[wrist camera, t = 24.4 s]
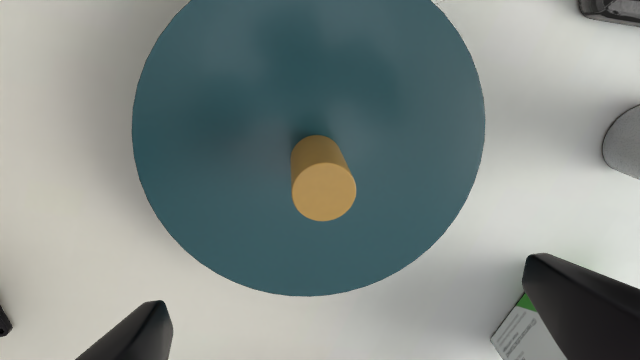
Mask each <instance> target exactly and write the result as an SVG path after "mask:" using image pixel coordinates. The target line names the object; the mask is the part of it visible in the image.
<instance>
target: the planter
mask: <svg viewBox="0 0 640 360" xmlns="http://www.w3.org/2000/svg"><path fill="white" fill-rule="evenodd" d="M603 156H604V159H605V161H606V163H607V164H608V165H609V166H610V167H611V168H613V169H615V170H617V171H620V172H622V173H624V174H627V175H629V176H632V177H634V178H637V179H639V180H640V106H637V107H635V108H633V109H631V110H629V111H627V112H626V113H624V114H623V115H622V116H621V117H619V118H618V119H617V120H616V121H615V123H614V124H613V125H612V126H611V128H610V129H609V131H608V133H607V135H606V137H605V140H604V143H603Z"/></svg>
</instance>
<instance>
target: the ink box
mask: <svg viewBox="0 0 640 360" xmlns="http://www.w3.org/2000/svg"><path fill="white" fill-rule="evenodd" d="M491 342H492V344H493V345H494V347H495V348H496V350H497V351H498V353H499V354H500V356H501V357H502V359H503V360H567V358H566V357H565V356H564V354H563V353H562V351H561V350H560V348H559V347H558V345H557V344H556V342H555V341H554V339H553V338H552V336H551V334H550V333H549V331H548V329H547V328H546V326H545V324H544V323H543V321H542V319H541V318H540V316H539V314H538V313H537V311H536V309H535V308H534V306H533V304H532V303H531V301H530V299H529V298H528V296H527V294H526V293H525V294H524V295H523V297H522V298H521V299H520V301H519V302H518V303H517V305H516V306H515V307H514V308H513V310H512V311H511V313H510V314H509V315H508V317H507V318H506V319H505V321H504V322H503V323H502V325H501V326H500V327H499V329H498V330H497V331H496V333H495V334H494V335H493V337H492V338H491Z"/></svg>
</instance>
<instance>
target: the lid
mask: <svg viewBox="0 0 640 360" xmlns="http://www.w3.org/2000/svg"><path fill="white" fill-rule="evenodd" d="M484 135H485V111H484V99H483V94H482V89H481V85H480V81H479V76H478V73H477V71H476V68H475V65H474V63H473V60H472V57H471V55H470V53H469V51H468V49H467V47H466V45H465V44H464V42H463V40H462V38H461V36H460V35H459V33H458V31H457V30H456V29H455V27H454V26H453V25H452V23H451V22H450V21H449V20H448V18H447V17H446V16H445V14H444V13H443V12H442V11H441V10H440V9H439V8H438V7H437V6H436V5H435V4H434V3H433V2H432V1H431V0H191V1H190V2H189V3H188V4H187V5H186V6H185V7H183V8H182V9H181V10H180V11H179V12H178V13H177V14H176V15H175V16H174V18H173V19H172V20H171V22H170V23H169V24H168V26H167V27H166V28H165V30H164V31H163V32H162V34H161V35H160V36H159V38H158V39H157V41H156V43H155V45H154V47H153V49H152V51H151V52H150V54H149V56H148V58H147V60H146V62H145V65H144V68H143V71H142V73H141V76H140V79H139V82H138V85H137V90H136V95H135V100H134V105H133V115H132V142H133V152H134V159H135V163H136V167H137V171H138V175H139V179H140V182H141V184H142V187H143V189H144V192H145V194H146V197H147V199H148V201H149V203H150V205H151V206H152V208H153V210H154V212H155V214H156V215H157V217H158V219H159V220H160V221H161V223H162V224H163V226H164V227H165V228H166V230H167V231H168V232H169V234H170V235H171V236H172V237H173V238H174V239H175V240H176V241H177V242H178V243H179V244H180V245H181V247H182V248H183V249H184V250H185V251H187V252H188V253H189V254H190V255H192V256H193V257H194V258H195V259H196V260H198V261H199V262H200V263H201V264H203V265H205V266H206V267H208V268H209V269H211V270H212V271H214V272H215V273H217V274H219V275H221V276H223V277H225V278H227V279H229V280H231V281H233V282H235V283H238V284H241V285H244V286H246V287H249V288H252V289H255V290H260V291H264V292H268V293H272V294H280V295H287V296H309V297H310V296H323V295H332V294H337V293H343V292H348V291H351V290H355V289H358V288H362V287H365V286H368V285H370V284H373V283H375V282H378V281H380V280H383V279H384V278H386V277H388V276H390V275H392V274H394V273H396V272H398V271H400V270H401V269H403V268H404V267H406V266H407V265H409V264H410V263H412V262H413V261H414V260H416V259H417V258H418V257H419V256H421V255H422V254H423V253H424V252H425V251H427V250H428V249H429V248H430V247H431V246H432V245H433V244H434V243H435V242H436V241H437V240H438V239H439V238H440V237H441V236H442V235H443V234H444V232H445V231H446V230H447V228H448V227H449V226H450V225H451V223H452V222H453V221H454V219H455V218H456V216H457V215H458V213H459V211H460V210H461V208H462V206H463V205H464V203H465V201H466V199H467V197H468V195H469V193H470V190H471V188H472V186H473V184H474V181H475V178H476V175H477V172H478V169H479V165H480V162H481V156H482V151H483V145H484Z"/></svg>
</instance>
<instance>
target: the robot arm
mask: <svg viewBox="0 0 640 360" xmlns="http://www.w3.org/2000/svg"><path fill="white" fill-rule="evenodd" d="M522 285H523V289H524V291H525V293H526V294H527V296H528V298H529V299H530V301H531V303H532V304H533V306H534V308H535V309H536V311H537V313H538V314H539V316H540V318H541V319H542V321H543V323H544V324H545V326H546V328H547V329H548V331H549V333H550V334H551V336H552V338H553V339H554V341H555V342H556V344H557V345H558V347H559V348H560V350H561V351H562V353H563V354H564V356H565V357H566V358H567V360H640V289H638V288H635V287H632V286H630V285H627V284H625V283H622V282H620V281H617V280H614V279H612V278H609V277H607V276H604V275H602V274H599V273H597V272H594V271H591V270H589V269H586V268H584V267H581V266H579V265H576V264H573V263H571V262H568V261H566V260H563V259H561V258H558V257H555V256H553V255H550V254H547V253H538V254H531V255H529V256H528V257H527V258H526V263H525V268H524V273H523V278H522ZM12 328H13V327H12V324H11V323H10V321H9V319H8V318H7V316H6V314H5V312H4V311H3V309H2V307H1V306H0V337H3V336H6V335H7V334H8V333H9V332H10V331H11V330H12ZM172 337H173V325H172V322H171V319H170V316H169V313H168V310H167V307H166V305H165V303H164V302H163V301H161V300H157V301H149V302H145V303H143V304H142V305H140V306H139V307H138V308H137V309H136V310H134V311H133V312H132V313H131V314H130V315H128V316H127V317H126V318H125V319H124V320H122V321H121V322H120V323H119V324H117V325H116V326H115V327H114V328H113V329H111V330H110V331H109V332H108V333H107V334H105V335H104V336H103V337H102V338H101V339H99V340H98V341H97V342H96V343H95V344H93V345H92V346H91V347H90V348H88V349H87V350H86V351H85V352H84V353H82V354H81V355H80V356H79V357H78V358H76V359H75V360H168V357H169V352H170V347H171V342H172Z"/></svg>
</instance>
